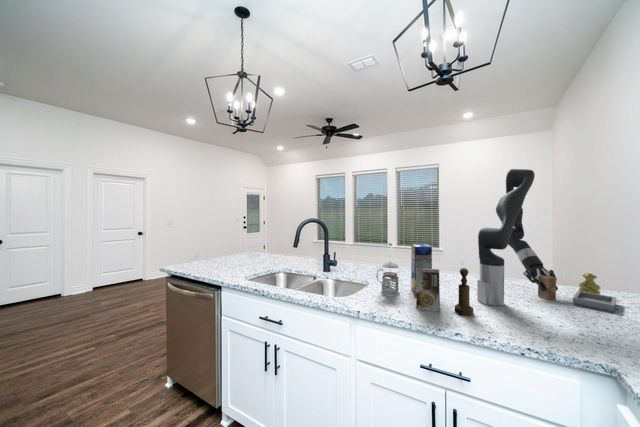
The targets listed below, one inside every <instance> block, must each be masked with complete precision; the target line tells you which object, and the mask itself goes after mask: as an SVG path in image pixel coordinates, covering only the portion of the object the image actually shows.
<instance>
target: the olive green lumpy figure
mask: <svg viewBox="0 0 640 427" xmlns="http://www.w3.org/2000/svg"><path fill="white" fill-rule="evenodd" d="M582 277H583V278H584V280H582V282H579V283H578V286H579V288H578V291H581V292H587V293H593V294H599V295H601V290H600V289H601V286H600V285H599V284H597V283H596V282H595V281H594V280H596V279H597V275H595V274H593V273H591V272H590V273H588V272H587V273H584V274H582Z"/></svg>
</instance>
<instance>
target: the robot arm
mask: <svg viewBox="0 0 640 427" xmlns="http://www.w3.org/2000/svg"><path fill="white" fill-rule="evenodd" d="M534 180H535V172H534V170H532V169H527V168H525V169H522V168H519V169H518V168H511V169H509V170H508V171H507V174H506V177H505V194H504V195H503V196H501V197H500V198H499V200H498V203H497V204H496V207H495V212H496V214H497V217H498V219H499V220H500V221H501V227H499V228H495V227H482V228H481V229H480V230H479V231H478V235H477V239H478V240H477V241H478V242H477V244H478V258H479V278H478V279H477V280H476V281H477V285H476V286H477V289H476V290H477V291H476V292H477V294H476V295H477V296H476V297H477V299H476V300H477V301H478V302H480V303H482V304H484V305H487V306H493V307H495V306H496V307H502V306H504V305H505V259H504V258H503V257H502V256H499V255H497V254H495V253H494V252H493V251H492V250H501V251H502V250H505V249H506V248H507V247H508V246H509V247H510V248H512V250H513V251H514V253H515V254H516V256H517V257H518V260H519V261H520V263H521V264H522V266H523V267H524V269H525V271H523V273H522V274H523V275H524V276H525V277H526V278H527V279H528V280H529V281H530V282H531V283H532V284H536V285H537V287H538V286H539V287H540V289H541V290H542V291H546V290H547V288H546V286H545V285H544V284H543V282H542V281H541V279H540V276H541V275H547V276H551V277H555V278H556V282H557V281H558V279H557V276H556V274H555V272H554V270H553V269H550V270H548V269H546V267H544V263H543V262H542V260H541V259H540V257H539V256H538V255H537V254H536V252H535V251H534V250H533V249H532V247H531V246H530V244H529V243H528V242H527V241H526V240H523V238H524V237H525V231H524V226H523V214H524V210H523V204H524V201H525V199H526V196H527V194H528V192H529V190H530V189H531V187H532V186H533V183H534ZM514 188H515V189H514ZM558 289H559V287H558V286H557V285H556V292H557V291H559V290H558Z"/></svg>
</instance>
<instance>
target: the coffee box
mask: <svg viewBox="0 0 640 427" xmlns="http://www.w3.org/2000/svg"><path fill="white" fill-rule="evenodd" d="M415 298H416V301H415V302H416V305H415V306H416V309H418V310H423V311H424V310H425V311H432V312H440V311H441V310H440V309H441V308H440V307H441V305H440V300H441V295H440V269H439V268H438V269H436V268H432V269H426V268H417V270H416V297H415Z"/></svg>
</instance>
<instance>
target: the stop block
mask: <svg viewBox="0 0 640 427" xmlns="http://www.w3.org/2000/svg"><path fill="white" fill-rule="evenodd" d="M540 279H541V281H542V282H543V284H544V285H545V286H546V288H547V290H546V291H542V290H541V289H540V287H539V286H538V285H537V297H538V298H541V299H544V300H549V301H550V300H557V291H556V286H557V281H556V279H557V277H556V278H555V277H551V276H547V275H541V276H540Z"/></svg>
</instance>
